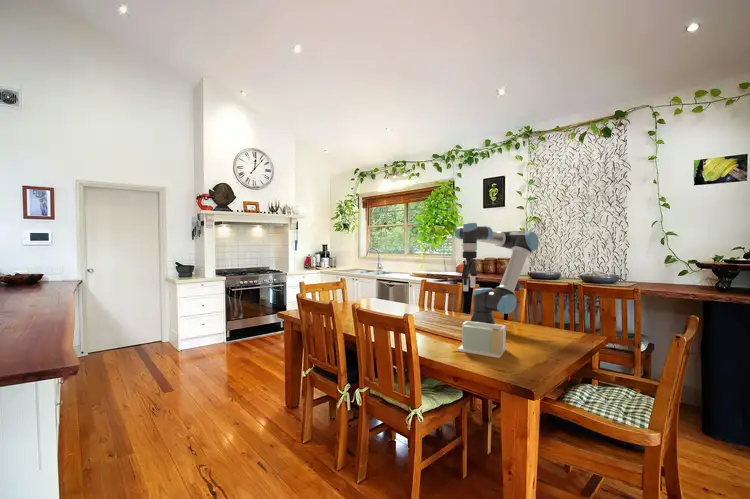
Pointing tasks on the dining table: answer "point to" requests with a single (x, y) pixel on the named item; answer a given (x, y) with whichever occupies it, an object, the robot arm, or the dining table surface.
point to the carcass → (485, 325)
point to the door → (482, 339)
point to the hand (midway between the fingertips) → (469, 289)
